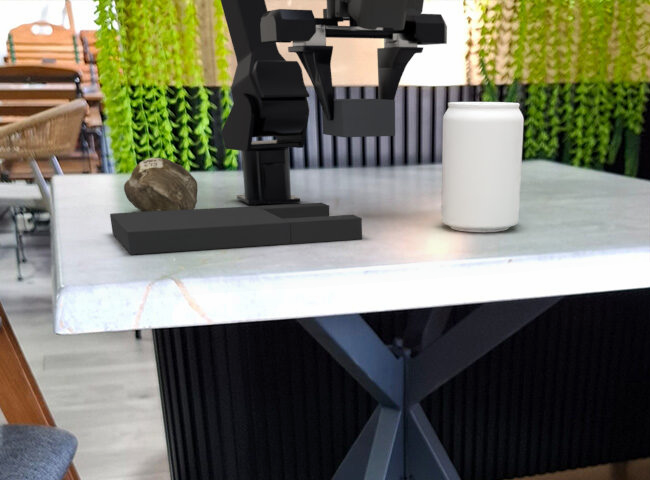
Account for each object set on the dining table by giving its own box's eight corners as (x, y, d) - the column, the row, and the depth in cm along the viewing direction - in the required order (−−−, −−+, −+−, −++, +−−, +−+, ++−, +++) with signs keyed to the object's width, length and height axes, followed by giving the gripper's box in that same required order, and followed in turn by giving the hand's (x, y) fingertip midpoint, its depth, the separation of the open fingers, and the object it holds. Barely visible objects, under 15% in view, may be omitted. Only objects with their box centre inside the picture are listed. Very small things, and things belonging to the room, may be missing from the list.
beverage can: (460, 235, 90) (463, 104, 84) (429, 223, 96) (430, 101, 91) (531, 231, 92) (539, 104, 87) (496, 219, 99) (501, 101, 94)
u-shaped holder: (112, 234, 89) (109, 213, 88) (322, 221, 97) (321, 202, 96) (130, 255, 79) (127, 231, 78) (362, 239, 87) (362, 217, 87)
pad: (322, 134, 98) (321, 99, 96) (373, 132, 100) (372, 98, 99) (342, 137, 93) (341, 100, 91) (395, 136, 95) (395, 100, 94)
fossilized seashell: (123, 186, 104) (111, 213, 96) (146, 135, 102) (136, 158, 93) (184, 219, 107) (177, 247, 99) (208, 170, 105) (203, 195, 97)
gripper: (289, -67, 79) (299, 125, 86) (474, -54, 86) (470, 121, 93) (253, -52, 88) (264, 120, 95) (423, -42, 95) (422, 117, 102)
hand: (357, 119), depth 96 cm, fingers closed on pad, 6 cm apart
